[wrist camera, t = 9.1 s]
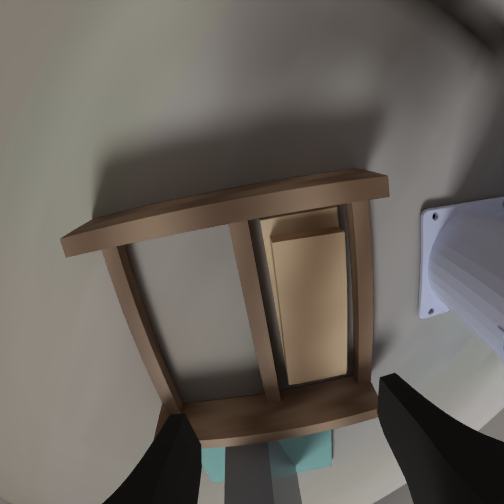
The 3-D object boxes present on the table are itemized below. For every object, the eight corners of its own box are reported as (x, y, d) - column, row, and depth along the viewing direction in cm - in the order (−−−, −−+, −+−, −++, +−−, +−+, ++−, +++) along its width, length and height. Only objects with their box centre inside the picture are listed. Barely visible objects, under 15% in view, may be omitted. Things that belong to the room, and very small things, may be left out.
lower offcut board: (331, 203, 19) (336, 207, 18) (343, 360, 23) (347, 370, 22) (258, 216, 19) (260, 220, 18) (286, 373, 23) (288, 383, 22)
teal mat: (329, 406, 23) (330, 411, 23) (330, 461, 26) (331, 465, 26) (185, 427, 23) (184, 432, 23) (212, 477, 26) (212, 482, 26)
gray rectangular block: (265, 422, 23) (274, 507, 15) (295, 466, 25) (307, 535, 18) (225, 433, 23) (224, 516, 15) (261, 475, 26) (266, 543, 18)
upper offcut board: (337, 226, 18) (344, 231, 17) (341, 363, 21) (346, 373, 20) (269, 236, 18) (271, 242, 17) (286, 374, 21) (289, 385, 20)
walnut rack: (357, 168, 17) (387, 175, 14) (365, 380, 23) (381, 415, 19) (91, 219, 18) (60, 238, 14) (166, 412, 23) (158, 450, 19)
